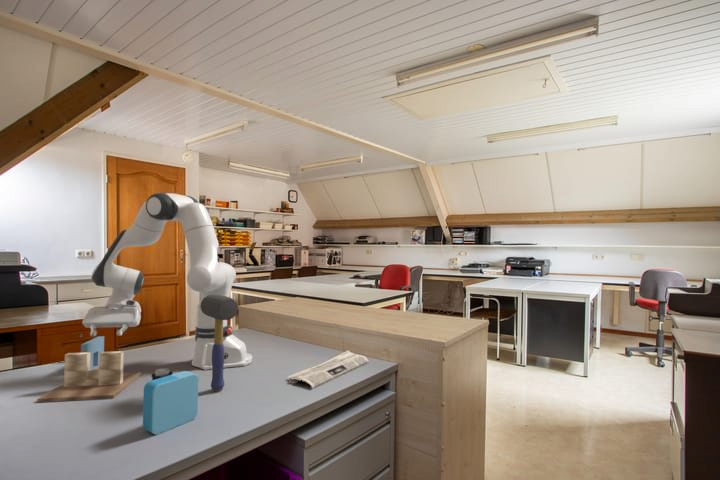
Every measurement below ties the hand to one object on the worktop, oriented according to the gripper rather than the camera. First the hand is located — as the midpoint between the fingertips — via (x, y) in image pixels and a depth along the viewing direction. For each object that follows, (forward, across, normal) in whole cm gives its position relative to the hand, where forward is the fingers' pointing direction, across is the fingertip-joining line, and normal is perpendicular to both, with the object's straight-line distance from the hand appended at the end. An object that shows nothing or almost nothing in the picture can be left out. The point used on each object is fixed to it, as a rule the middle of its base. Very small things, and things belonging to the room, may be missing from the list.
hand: (105, 335), depth 148 cm
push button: (+42, +37, -28) cm, 63 cm away
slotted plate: (+14, 0, 0) cm, 14 cm away
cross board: (+29, +11, -15) cm, 35 cm away
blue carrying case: (+50, +43, -36) cm, 76 cm away
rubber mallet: (+35, +50, -21) cm, 64 cm away
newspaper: (+26, +87, -11) cm, 92 cm away
